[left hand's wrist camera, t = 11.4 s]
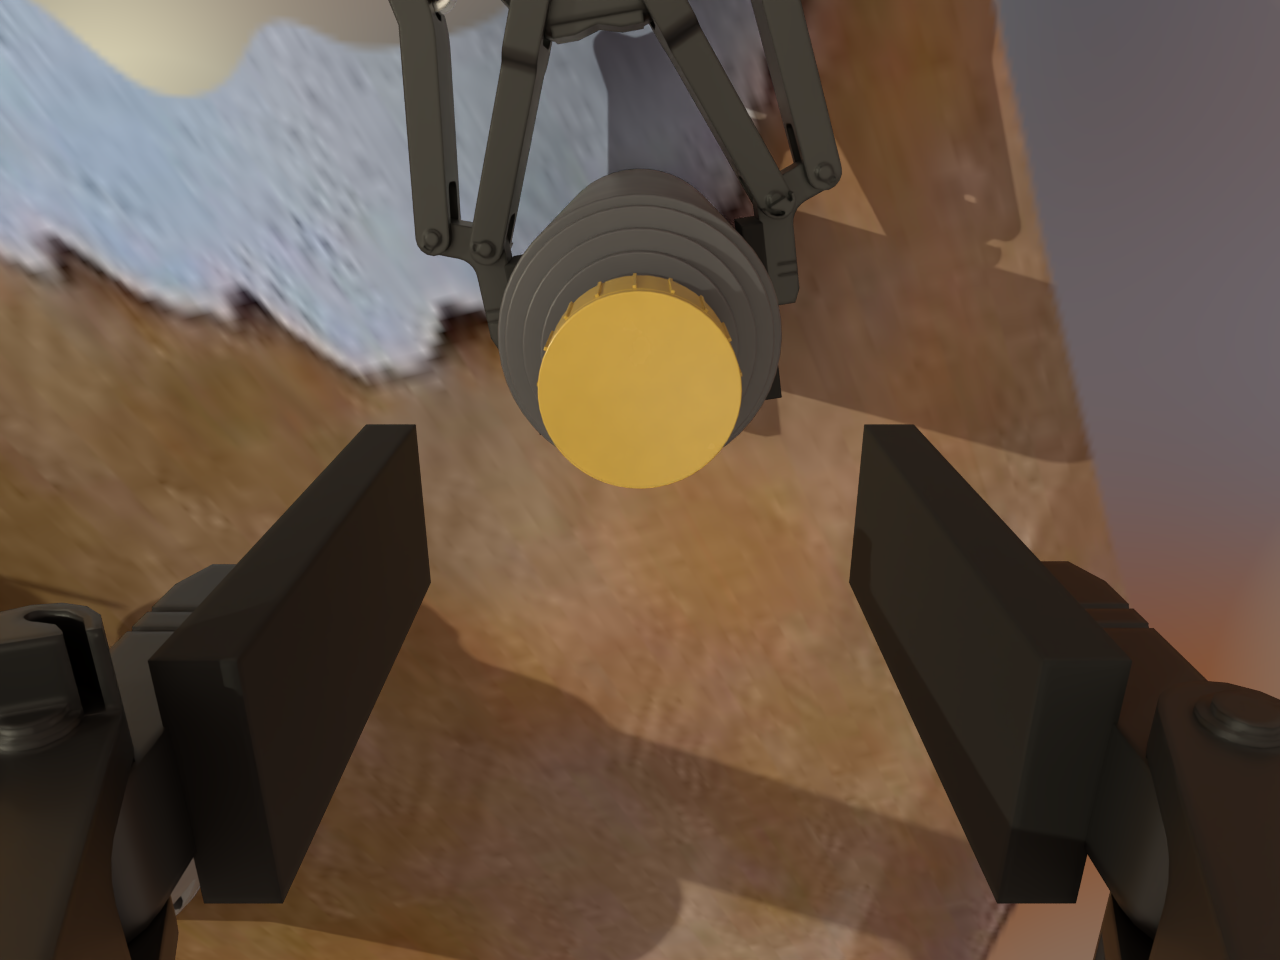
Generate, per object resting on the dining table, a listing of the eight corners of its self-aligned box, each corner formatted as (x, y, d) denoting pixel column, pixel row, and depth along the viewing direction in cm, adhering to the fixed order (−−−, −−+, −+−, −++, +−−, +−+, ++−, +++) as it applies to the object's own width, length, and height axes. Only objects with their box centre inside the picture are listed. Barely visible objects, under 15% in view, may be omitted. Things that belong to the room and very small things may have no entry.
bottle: (749, 192, 39) (859, 257, 19) (703, 367, 42) (759, 575, 22) (570, 149, 38) (497, 169, 19) (535, 328, 41) (442, 508, 22)
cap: (756, 297, 22) (769, 316, 19) (707, 473, 23) (714, 509, 21) (566, 252, 21) (558, 266, 19) (530, 435, 23) (519, 467, 21)
